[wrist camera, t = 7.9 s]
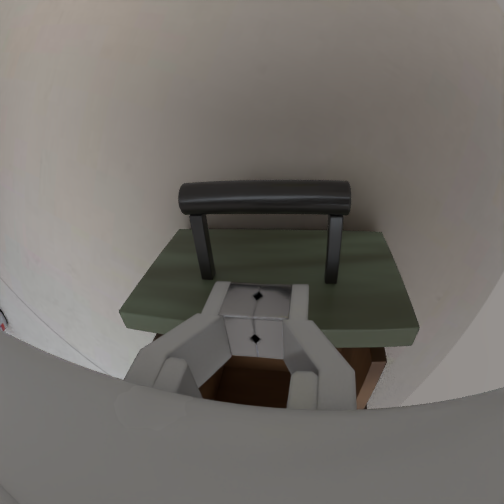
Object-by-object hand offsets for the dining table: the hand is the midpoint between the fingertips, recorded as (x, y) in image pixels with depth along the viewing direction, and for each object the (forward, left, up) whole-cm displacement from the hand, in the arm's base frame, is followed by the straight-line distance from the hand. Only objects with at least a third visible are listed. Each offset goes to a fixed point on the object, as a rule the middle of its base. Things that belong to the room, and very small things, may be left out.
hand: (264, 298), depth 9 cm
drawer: (0, +7, -9) cm, 11 cm away
